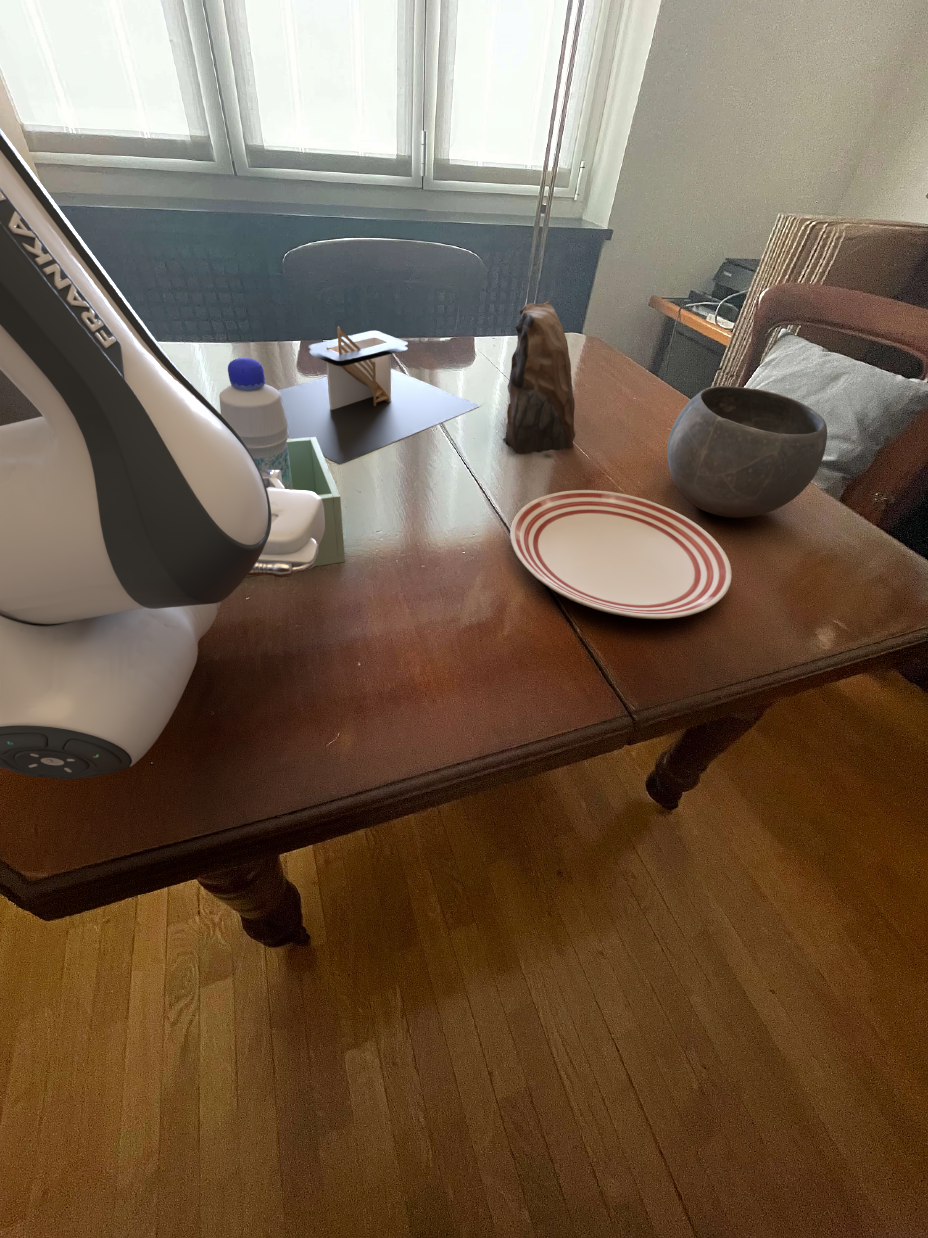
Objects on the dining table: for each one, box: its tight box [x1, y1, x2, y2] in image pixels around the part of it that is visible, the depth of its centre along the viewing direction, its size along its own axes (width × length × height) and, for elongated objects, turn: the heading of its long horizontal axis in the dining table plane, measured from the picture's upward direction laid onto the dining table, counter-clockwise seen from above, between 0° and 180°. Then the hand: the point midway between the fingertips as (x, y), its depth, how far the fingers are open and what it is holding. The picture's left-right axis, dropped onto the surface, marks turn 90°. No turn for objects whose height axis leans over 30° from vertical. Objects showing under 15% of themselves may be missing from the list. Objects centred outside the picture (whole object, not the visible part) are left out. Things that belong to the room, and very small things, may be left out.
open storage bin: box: [246, 437, 346, 578], centre depth 65 cm, size 15×15×9 cm
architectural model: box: [276, 326, 481, 465], centre depth 94 cm, size 35×28×14 cm
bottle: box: [218, 357, 294, 490], centre depth 60 cm, size 7×7×20 cm
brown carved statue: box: [502, 300, 576, 455], centre depth 89 cm, size 13×13×20 cm
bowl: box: [666, 385, 828, 519], centre depth 79 cm, size 20×20×15 cm
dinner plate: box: [509, 489, 732, 620], centre depth 69 cm, size 27×27×3 cm
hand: (219, 472), depth 49 cm, fingers open, 8 cm apart
